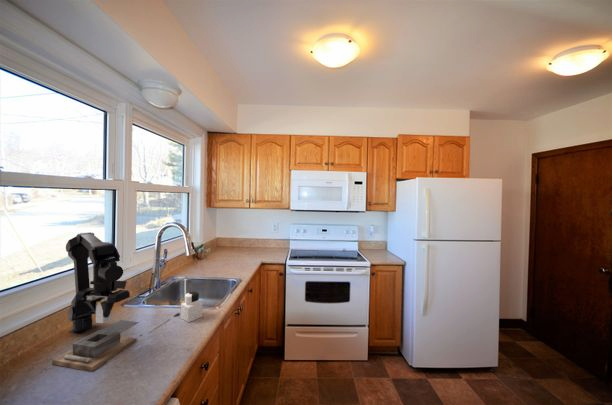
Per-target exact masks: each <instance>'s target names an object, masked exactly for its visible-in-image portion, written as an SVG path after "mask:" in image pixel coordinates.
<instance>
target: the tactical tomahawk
mask: <svg viewBox="0 0 612 405" xmlns="http://www.w3.org/2000/svg"><path fill="white" fill-rule="evenodd" d="M179 316H181V312H177V313H176V314H174V315H173V316H172V317H173V318H176V317H179ZM169 321H171V319H170V318H169V319H167V320H165V322H163V323H162V324H160V325H158V326H157V327H155V328H154V329H152V330H150V331H149V332H148V333H147V334H150V333H152V332H154V331H155V330H156V329H158V328H160V327H161V326H163V325H164V324H167V323H168V322H169ZM141 336H143V334H140V335H139V337H141Z"/></svg>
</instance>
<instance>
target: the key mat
mask: <svg viewBox="0 0 612 405" xmlns="http://www.w3.org/2000/svg"><path fill="white" fill-rule="evenodd" d="M139 323H140V321H134V320H133V321H132V320H131V321H130V320H126V319H125V320H123V319H120V320H118V321H117V322H114V323H112V324H111V325H109V326H107V327H105V328H103V329H102V330H107V331H114V332H120V334H121V333H123V332H126V330H129V329H131V328H132V327H133V326H136V325H137V324H139Z"/></svg>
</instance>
